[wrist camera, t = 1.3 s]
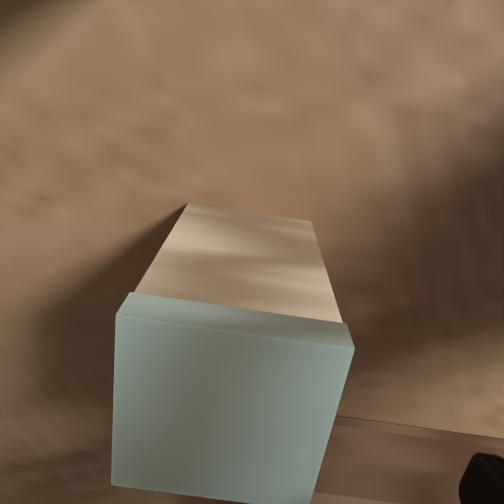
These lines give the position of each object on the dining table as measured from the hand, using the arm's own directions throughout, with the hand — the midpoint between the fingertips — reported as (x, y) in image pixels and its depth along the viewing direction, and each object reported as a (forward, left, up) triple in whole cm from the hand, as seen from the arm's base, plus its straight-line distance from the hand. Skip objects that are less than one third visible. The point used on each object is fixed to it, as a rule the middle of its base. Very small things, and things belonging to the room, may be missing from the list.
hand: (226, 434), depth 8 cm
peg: (0, 0, -7) cm, 7 cm away
